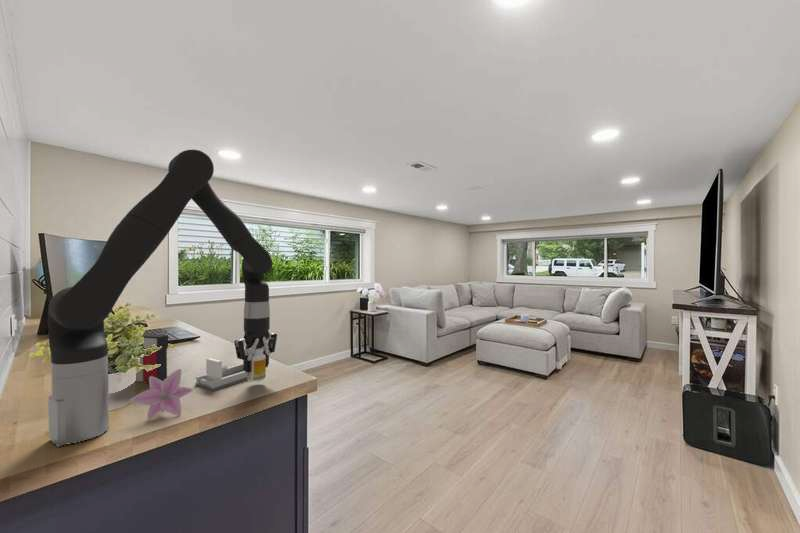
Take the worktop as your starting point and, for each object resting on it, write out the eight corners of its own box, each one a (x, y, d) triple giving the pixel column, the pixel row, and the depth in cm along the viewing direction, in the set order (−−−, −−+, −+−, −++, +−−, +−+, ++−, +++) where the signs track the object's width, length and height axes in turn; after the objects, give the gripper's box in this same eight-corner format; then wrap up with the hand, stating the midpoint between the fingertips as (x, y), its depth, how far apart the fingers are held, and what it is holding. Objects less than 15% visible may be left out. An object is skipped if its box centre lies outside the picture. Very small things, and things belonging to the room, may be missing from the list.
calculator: (129, 382, 109) (128, 335, 109) (142, 377, 113) (141, 333, 113) (156, 385, 106) (156, 337, 106) (169, 380, 111) (168, 334, 110)
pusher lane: (213, 390, 102) (213, 372, 102) (195, 384, 107) (195, 367, 107) (262, 374, 116) (262, 358, 116) (244, 369, 121) (244, 354, 121)
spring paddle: (218, 384, 105) (218, 361, 105) (206, 380, 108) (206, 358, 108) (231, 380, 108) (230, 358, 108) (219, 376, 112) (219, 355, 112)
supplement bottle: (268, 376, 109) (269, 346, 109) (260, 382, 103) (260, 350, 103) (252, 375, 109) (253, 345, 109) (243, 381, 104) (243, 349, 104)
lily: (122, 423, 83) (123, 395, 80) (155, 388, 94) (157, 362, 91) (172, 435, 85) (175, 409, 81) (199, 400, 96) (202, 374, 92)
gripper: (243, 319, 98) (243, 378, 98) (283, 313, 110) (283, 365, 110) (228, 317, 102) (227, 373, 102) (268, 312, 114) (268, 362, 114)
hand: (256, 369), depth 106 cm, fingers closed on supplement bottle, 5 cm apart
